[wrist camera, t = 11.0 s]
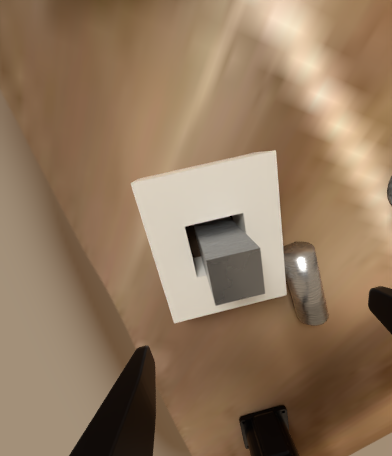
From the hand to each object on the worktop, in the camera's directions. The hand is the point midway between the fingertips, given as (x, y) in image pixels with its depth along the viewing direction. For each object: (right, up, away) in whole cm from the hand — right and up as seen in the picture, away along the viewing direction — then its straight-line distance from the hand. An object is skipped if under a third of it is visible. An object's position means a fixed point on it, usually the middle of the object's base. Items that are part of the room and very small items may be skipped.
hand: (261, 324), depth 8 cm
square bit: (-1, +3, +11) cm, 12 cm away
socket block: (-1, +3, +11) cm, 12 cm away
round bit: (+9, -1, +13) cm, 16 cm away
